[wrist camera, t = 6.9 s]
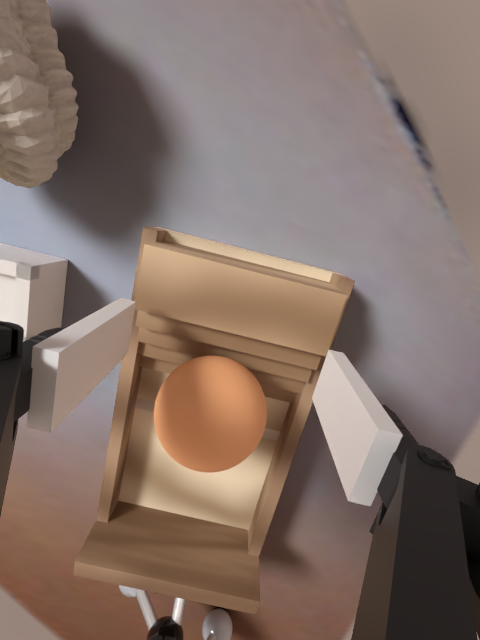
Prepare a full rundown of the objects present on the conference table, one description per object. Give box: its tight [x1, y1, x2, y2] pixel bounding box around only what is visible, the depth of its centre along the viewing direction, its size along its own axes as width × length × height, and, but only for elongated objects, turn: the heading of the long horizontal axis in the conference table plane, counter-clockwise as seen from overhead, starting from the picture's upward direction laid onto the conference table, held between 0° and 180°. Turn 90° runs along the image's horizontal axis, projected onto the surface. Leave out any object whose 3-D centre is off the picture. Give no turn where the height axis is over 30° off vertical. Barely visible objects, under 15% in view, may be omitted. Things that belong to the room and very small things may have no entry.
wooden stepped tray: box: [73, 227, 355, 614], centre depth 21 cm, size 22×12×6 cm, turn 166°
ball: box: [154, 356, 267, 473], centre depth 18 cm, size 6×6×6 cm
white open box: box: [0, 243, 68, 342], centre depth 21 cm, size 5×5×4 cm
